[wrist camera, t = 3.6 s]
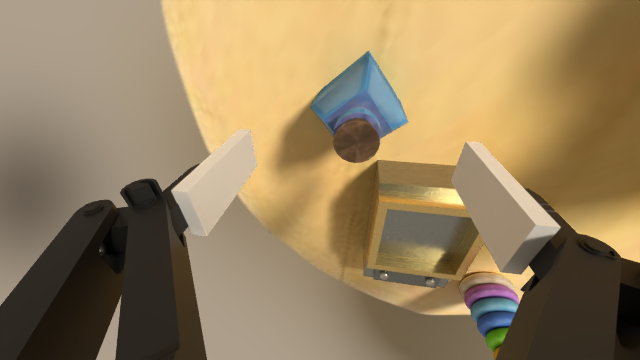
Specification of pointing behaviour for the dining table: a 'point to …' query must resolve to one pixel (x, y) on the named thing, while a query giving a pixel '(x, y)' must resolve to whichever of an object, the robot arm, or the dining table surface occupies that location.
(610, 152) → the dining table surface
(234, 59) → the dining table surface
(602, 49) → the dining table surface
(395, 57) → the dining table surface
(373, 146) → the perfume bottle
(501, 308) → the stacking toy
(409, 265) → the gray gold-framed box
